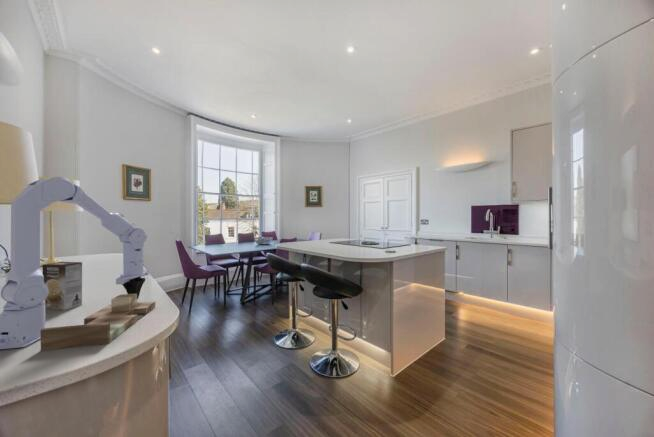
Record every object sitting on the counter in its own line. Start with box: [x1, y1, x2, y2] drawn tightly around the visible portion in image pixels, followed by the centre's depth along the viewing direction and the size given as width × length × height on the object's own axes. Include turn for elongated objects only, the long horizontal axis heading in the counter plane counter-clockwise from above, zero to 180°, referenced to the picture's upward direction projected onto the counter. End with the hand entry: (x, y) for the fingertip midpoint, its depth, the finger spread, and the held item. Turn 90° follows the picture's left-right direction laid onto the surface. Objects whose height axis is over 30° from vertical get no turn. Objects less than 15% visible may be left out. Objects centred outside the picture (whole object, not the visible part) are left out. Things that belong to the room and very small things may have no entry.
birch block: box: [110, 293, 138, 312], centre depth 86 cm, size 5×5×4 cm
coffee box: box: [42, 261, 83, 311], centre depth 93 cm, size 9×6×16 cm
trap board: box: [40, 300, 156, 351], centre depth 78 cm, size 28×14×5 cm, turn 13°
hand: (133, 299), depth 92 cm, fingers closed
